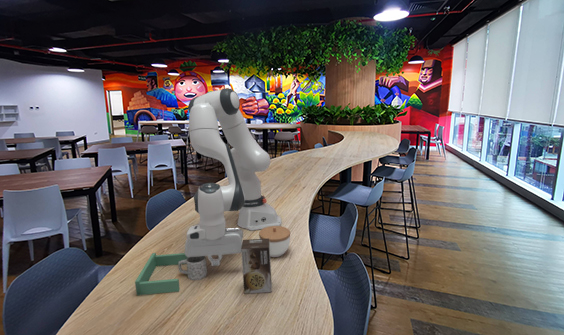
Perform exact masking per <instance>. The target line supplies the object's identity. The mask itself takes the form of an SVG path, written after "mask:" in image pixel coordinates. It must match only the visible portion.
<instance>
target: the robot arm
mask: <svg viewBox="0 0 564 335" xmlns="http://www.w3.org/2000/svg"><path fill="white" fill-rule="evenodd" d="M240 105H241V102H240V98H239V94H238V93H237V92H236V91H235V90H233V89H232V88H222V89H217V90H212V91H209V92H208V93H203V94H201V95H199V96H196V97H193V98H192V99H190V101H189V103H188V107H187V109H188V114H189V115H188V116H189V117H188V132H189V133H188V134H189V140H190V145H191V147H192V148H193V149H194V151H195V152H197V153H198V154H200V155H202V156H205V157H208V158H212V159H215V160H217V161H219V162H221V164H223V166H224V170H225V173H226V176H227V180H228V181H227V182H228V184H227V185H220V184H218V183H216V182H206V183H203V184H201V185H200V186H198V189H197V191H196V192H195V194H194V195H193V201H194V210H195V211H196V214H199V223H197V224H195V225H191V226H190V227H189V229H188V230H187V232H186V239H185V240H186V241H185V243H184V253H185V255H186V256H187V257H198V256H206V257H207V259H208V260H209V262H210V264H211V267H214V266H216V267H217V266H220V265H221V259H222V258H223V255H234V254H235V255H237V254H241V247H242V242H243V238H244V231H243V230H242V229H247V231H257V230H259V231H260V230H262V229H263V228H266V227H269V226H281V225H282V222H283V221H282V218H281V217H280V215H278V213H277V211H276V209H275V208H274V207H273V206H272V205H271V204H269V203H268V202H267V201H268V200H267V198H266V197H265V196H264V195H262V186H261V180H260V178H259V177H258V176H257V174H256V173H259V172H265V171H266V170H267V169H268V168H269V167H270V164H271V156H270V155H269V153H268V152H267V151H266V150H265V149H263V148H262V147H261V146H260V145H259V143H258V142H257V141H256V140H255V138H254V137H253V135H252V133H251V132H250V129H249V127H248V125H247V123H246V120H245V118H244V116H243V113H242V112H241V110H240V107H241V106H240ZM219 125H220V126H219ZM219 127H221V130H222V131H223V134H224V136H225V139H226V140H227V143H228V144H227V143H225V142H224V140H222V138H221V135H220V129H219ZM229 145H230V146H231V147H232V148H231V147H230V146H229ZM238 211H239V212H238ZM225 212H238V219H237V223H236V224H237V226H238V227H228V228H226V227H227V225H226V224H227V223H226V217H225V215H224V214H225ZM239 227H240V228H239ZM241 228H242V229H241ZM213 256H217V257H218V258H213Z"/></svg>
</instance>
